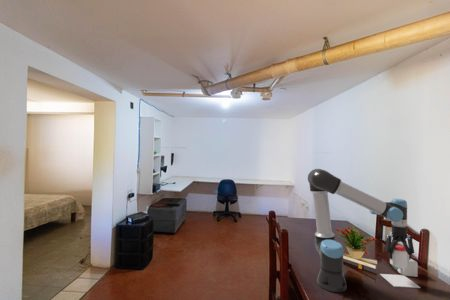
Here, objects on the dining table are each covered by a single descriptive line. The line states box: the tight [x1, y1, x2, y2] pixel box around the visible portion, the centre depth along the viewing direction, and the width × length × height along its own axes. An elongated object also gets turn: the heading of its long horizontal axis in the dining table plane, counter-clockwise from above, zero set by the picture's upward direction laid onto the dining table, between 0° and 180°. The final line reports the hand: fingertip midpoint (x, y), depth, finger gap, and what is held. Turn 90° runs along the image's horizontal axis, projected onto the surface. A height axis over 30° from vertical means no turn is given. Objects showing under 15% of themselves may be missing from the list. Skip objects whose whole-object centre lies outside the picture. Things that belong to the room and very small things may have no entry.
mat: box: [379, 273, 421, 289], centre depth 142 cm, size 14×14×1 cm
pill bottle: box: [392, 244, 408, 269], centre depth 142 cm, size 8×8×11 cm
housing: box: [397, 258, 419, 277], centre depth 151 cm, size 8×6×9 cm
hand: (399, 264), depth 142 cm, fingers closed on pill bottle, 8 cm apart
